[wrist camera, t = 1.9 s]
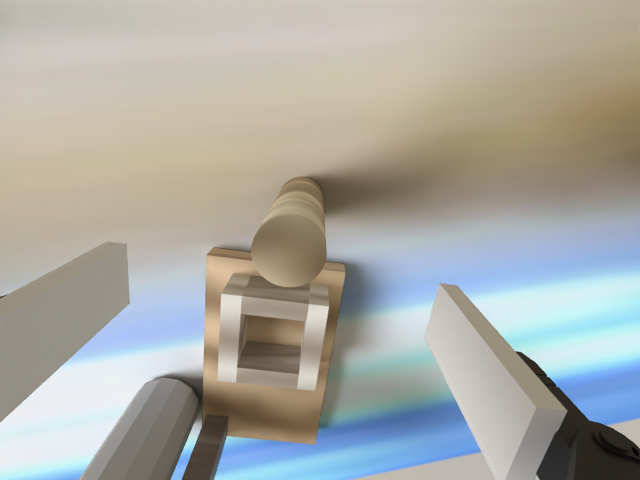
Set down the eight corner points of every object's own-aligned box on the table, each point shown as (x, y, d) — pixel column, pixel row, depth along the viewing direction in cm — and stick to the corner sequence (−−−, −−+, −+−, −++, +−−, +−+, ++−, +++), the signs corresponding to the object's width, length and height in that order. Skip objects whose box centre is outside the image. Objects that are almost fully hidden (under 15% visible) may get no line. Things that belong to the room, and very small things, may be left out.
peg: (282, 174, 30) (254, 212, 17) (325, 180, 30) (331, 222, 17) (278, 216, 31) (248, 282, 18) (319, 221, 32) (321, 291, 18)
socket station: (213, 247, 32) (93, 386, 15) (344, 264, 33) (372, 414, 16) (207, 418, 39) (121, 645, 22) (315, 429, 40) (313, 657, 23)
